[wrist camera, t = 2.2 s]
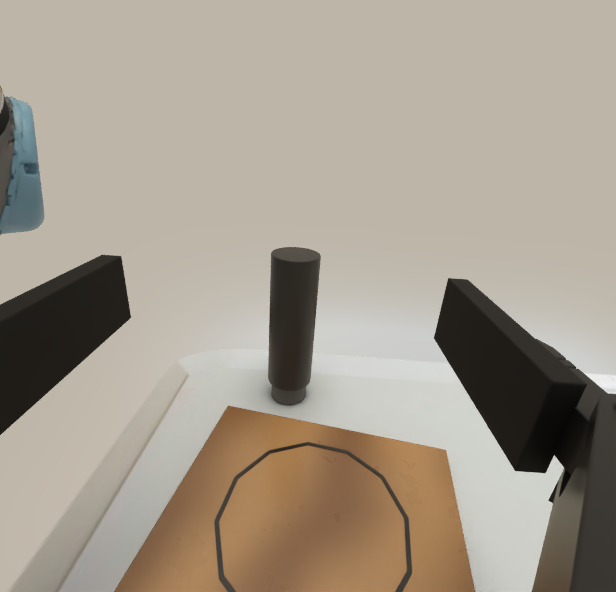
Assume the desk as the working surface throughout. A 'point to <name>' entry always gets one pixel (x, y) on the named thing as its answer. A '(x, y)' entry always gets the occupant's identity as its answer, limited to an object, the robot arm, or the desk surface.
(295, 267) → the dot marker
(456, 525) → the paper sheet
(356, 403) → the desk surface
